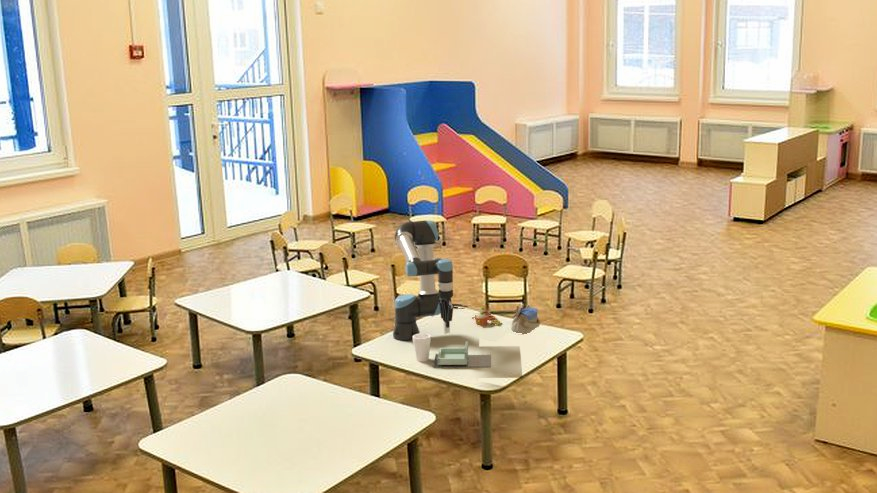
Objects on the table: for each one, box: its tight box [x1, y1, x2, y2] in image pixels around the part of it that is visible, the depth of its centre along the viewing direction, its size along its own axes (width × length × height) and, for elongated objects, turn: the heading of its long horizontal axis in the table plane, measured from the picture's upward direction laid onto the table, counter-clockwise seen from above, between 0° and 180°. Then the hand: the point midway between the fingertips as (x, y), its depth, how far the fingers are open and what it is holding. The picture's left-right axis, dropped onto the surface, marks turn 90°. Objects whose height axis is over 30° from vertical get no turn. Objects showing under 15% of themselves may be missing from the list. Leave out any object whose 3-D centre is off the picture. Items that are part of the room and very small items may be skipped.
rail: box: [432, 353, 491, 369], centre depth 451 cm, size 18×29×1 cm, turn 86°
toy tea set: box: [471, 306, 501, 326], centre depth 515 cm, size 26×16×10 cm, turn 15°
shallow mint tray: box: [437, 340, 469, 366], centre depth 450 cm, size 17×15×7 cm
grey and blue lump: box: [510, 303, 541, 335], centre depth 500 cm, size 26×16×16 cm, turn 152°
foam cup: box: [412, 332, 432, 363], centre depth 454 cm, size 10×9×13 cm
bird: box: [451, 302, 470, 309], centre depth 537 cm, size 18×8×10 cm, turn 71°
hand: (446, 332), depth 451 cm, fingers closed
